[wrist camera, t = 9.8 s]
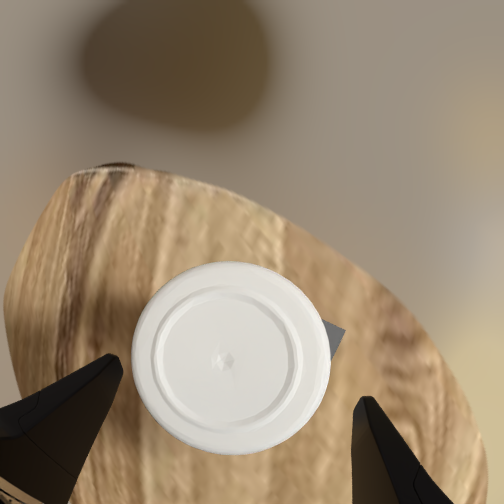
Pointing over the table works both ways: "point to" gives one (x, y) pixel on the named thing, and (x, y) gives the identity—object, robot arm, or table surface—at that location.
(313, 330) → the sprinkles bottle
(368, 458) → the robot arm
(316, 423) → the table surface
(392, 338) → the table surface
